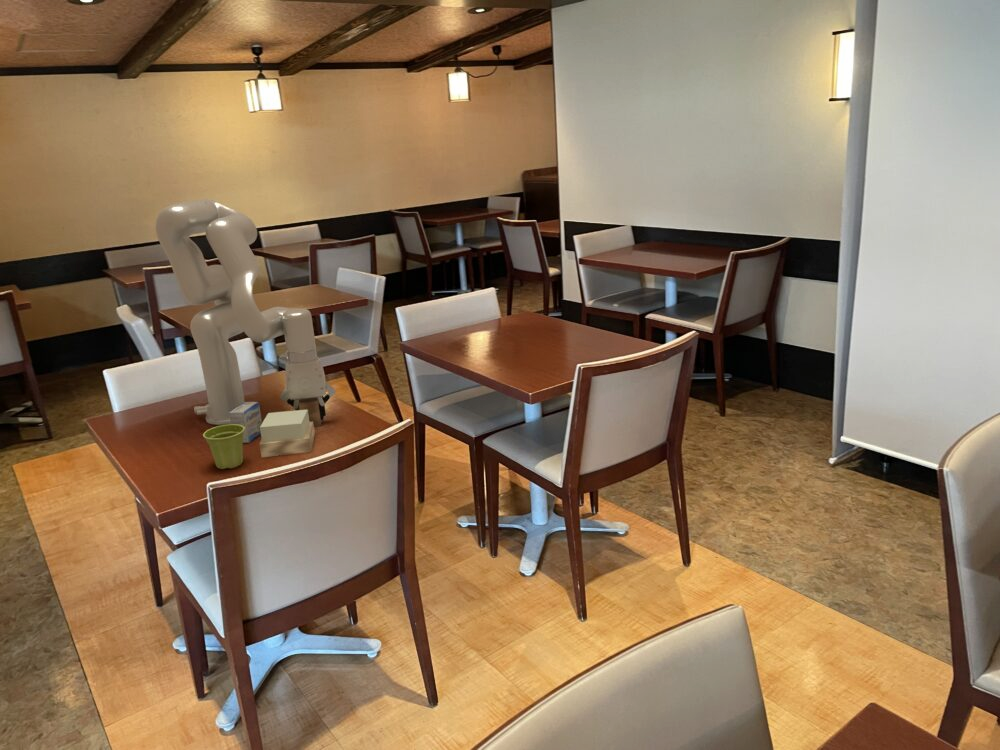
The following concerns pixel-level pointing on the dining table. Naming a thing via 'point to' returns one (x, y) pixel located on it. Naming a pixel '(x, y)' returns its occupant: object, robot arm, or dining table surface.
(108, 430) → the dining table surface
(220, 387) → the robot arm
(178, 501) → the dining table surface
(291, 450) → the tower base block
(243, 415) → the medicine box
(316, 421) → the walnut block
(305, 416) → the tower top block
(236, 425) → the plant pot
